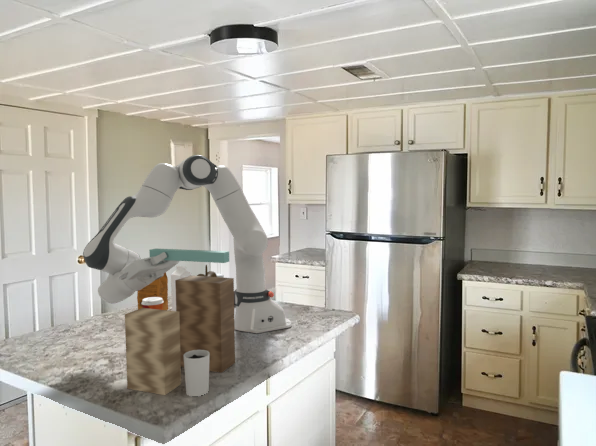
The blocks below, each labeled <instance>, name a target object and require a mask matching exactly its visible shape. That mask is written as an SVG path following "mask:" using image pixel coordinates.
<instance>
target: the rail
mask: <svg viewBox="0 0 596 446" xmlns="http://www.w3.org/2000/svg"><path fill="white" fill-rule="evenodd" d="M163 252H167V253H168V255H169V257H168V258H166V259H164V260H172V261H179V262H192V263H193V262H197V263H198V262H199V263H215V264H218V263H219V264H220V263H221V264H226V263H229V262H230V251H229V250H228V251H227V250H205V249H204V250H202V249H201V250H200V249H177V248H174V249H173V248H151V249H149V252H148V253H149V257H154V256H157V255H160V254H161V253H163Z"/></svg>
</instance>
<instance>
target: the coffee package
mask: <svg viewBox="0 0 596 446" xmlns="http://www.w3.org/2000/svg"><path fill="white" fill-rule="evenodd" d="M163 274H164V276H162V277H161V278H159V279H157V280H155V281H153V282H152V283H150V284H149V285H147V286H146V287H144V288H142V289H141V290H139V291H136V292H137V294H136V296H137V297H136V300H137V310H138V309H141V308H142V304H141V303H142V300H143V299H144V298H149V297H161V298H162V299H163V301H164V302H163V310H169V298H168V295H169V294H168V293H169V292H168V291H169V285H168V284H169V279H168V278H169V277H168V276H167V272H165V273H163Z"/></svg>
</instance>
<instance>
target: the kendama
mask: <svg viewBox="0 0 596 446" xmlns="http://www.w3.org/2000/svg"><path fill="white" fill-rule="evenodd" d="M204 266H205V267H204V268H205V269H204V270H205V271H204V273H205V274H204V273H198V274H196V276H207V277H217V275H216V274H217V273H216V272H215V271H214V270H213V271H212V270H210V271H208V264H205V265H204Z"/></svg>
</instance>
